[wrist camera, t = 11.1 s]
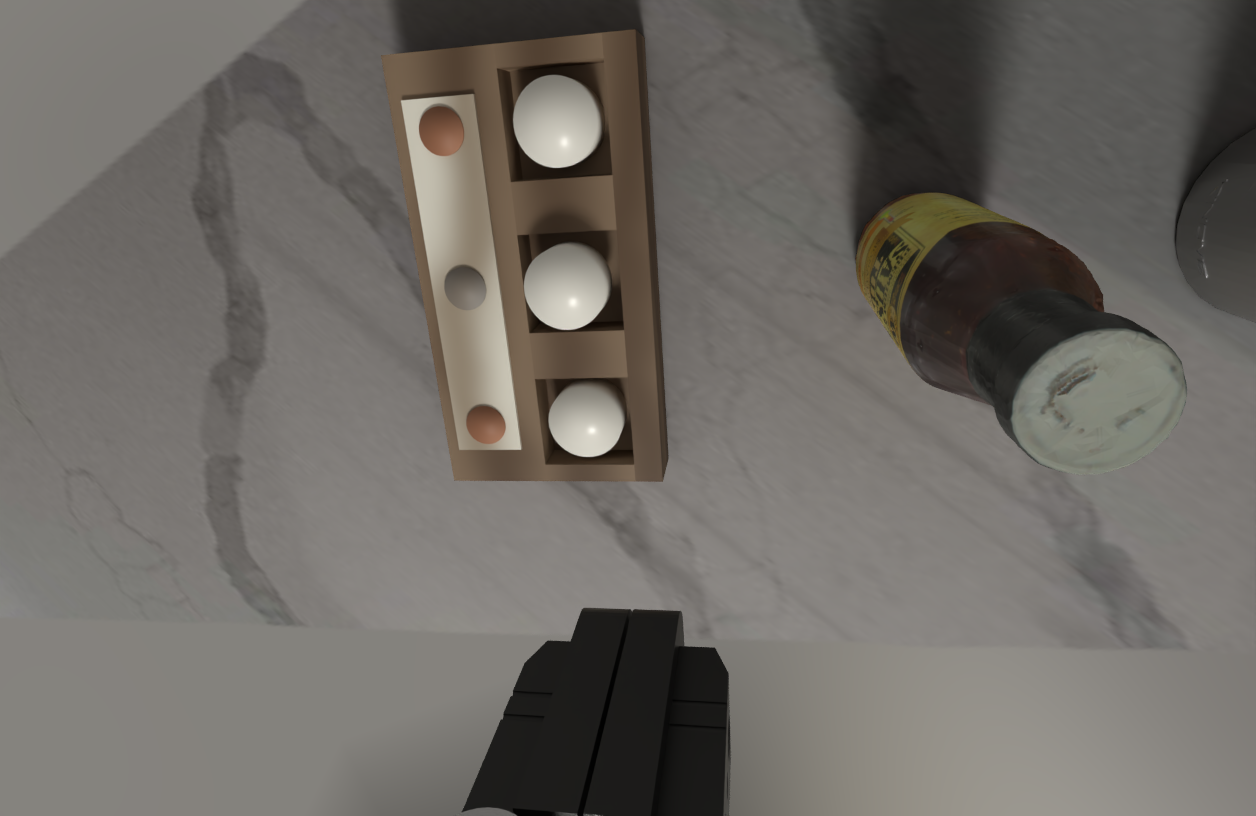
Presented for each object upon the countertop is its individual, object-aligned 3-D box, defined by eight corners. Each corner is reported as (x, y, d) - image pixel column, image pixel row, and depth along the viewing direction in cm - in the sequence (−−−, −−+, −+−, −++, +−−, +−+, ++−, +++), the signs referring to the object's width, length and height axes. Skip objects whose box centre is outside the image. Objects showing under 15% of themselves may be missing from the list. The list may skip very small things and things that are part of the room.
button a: (624, 375, 39) (618, 387, 37) (629, 442, 41) (624, 457, 39) (553, 376, 40) (544, 388, 38) (561, 442, 41) (552, 457, 39)
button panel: (644, 37, 34) (634, 28, 31) (668, 458, 42) (662, 484, 39) (408, 61, 36) (377, 54, 33) (472, 458, 44) (452, 482, 41)
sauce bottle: (838, 211, 36) (936, 294, 17) (972, 171, 34) (1235, 217, 16) (865, 334, 37) (978, 527, 19) (992, 303, 36) (1247, 479, 18)
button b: (609, 239, 35) (601, 245, 33) (615, 318, 37) (608, 328, 35) (530, 243, 36) (519, 249, 34) (539, 321, 37) (529, 331, 35)
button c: (601, 74, 34) (593, 70, 32) (608, 163, 35) (601, 164, 34) (520, 81, 35) (508, 78, 33) (530, 168, 36) (518, 170, 34)
